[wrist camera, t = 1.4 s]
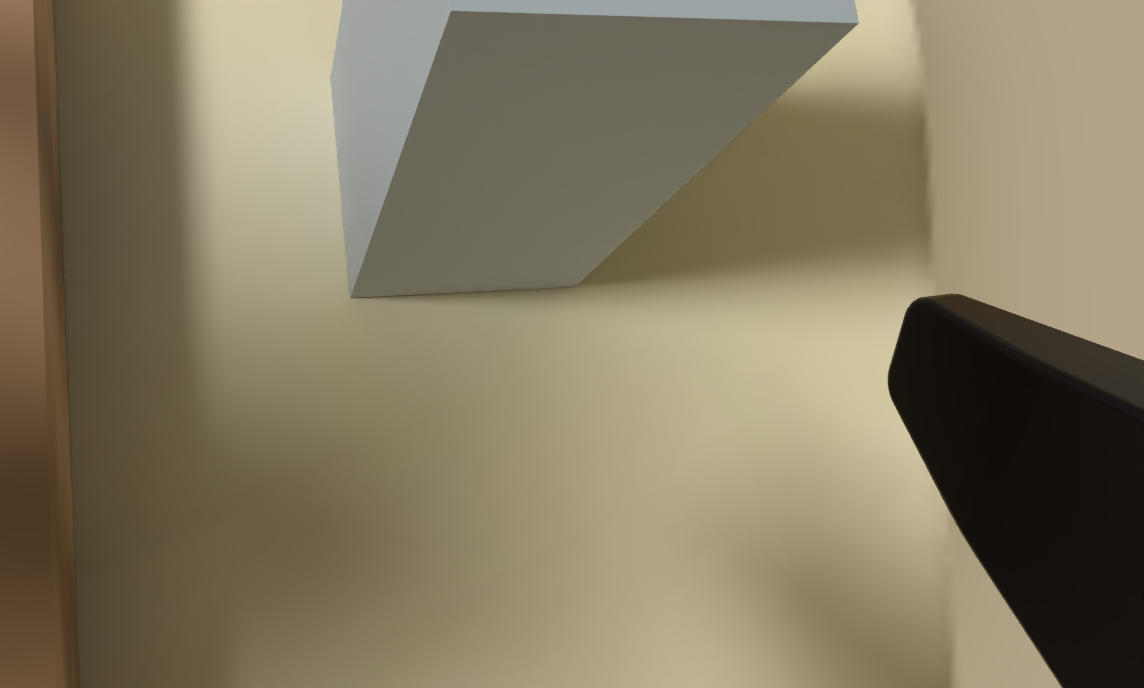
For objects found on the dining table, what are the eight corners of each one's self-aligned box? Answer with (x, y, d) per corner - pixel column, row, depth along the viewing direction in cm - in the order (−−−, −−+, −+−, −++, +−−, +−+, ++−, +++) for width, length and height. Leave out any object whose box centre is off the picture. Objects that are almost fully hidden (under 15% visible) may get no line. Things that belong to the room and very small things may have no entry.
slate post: (575, 286, 24) (858, 22, 13) (350, 298, 23) (451, 11, 11) (548, 80, 25) (791, -331, 14) (330, 77, 24) (405, -387, 12)
